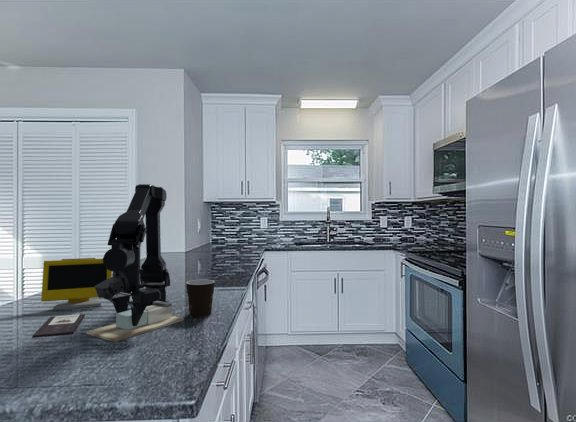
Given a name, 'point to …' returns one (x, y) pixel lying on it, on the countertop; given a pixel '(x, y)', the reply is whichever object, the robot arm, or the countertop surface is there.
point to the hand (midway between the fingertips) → (128, 324)
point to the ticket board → (155, 319)
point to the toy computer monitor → (73, 282)
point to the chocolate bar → (59, 326)
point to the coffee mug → (200, 297)
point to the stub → (129, 320)
